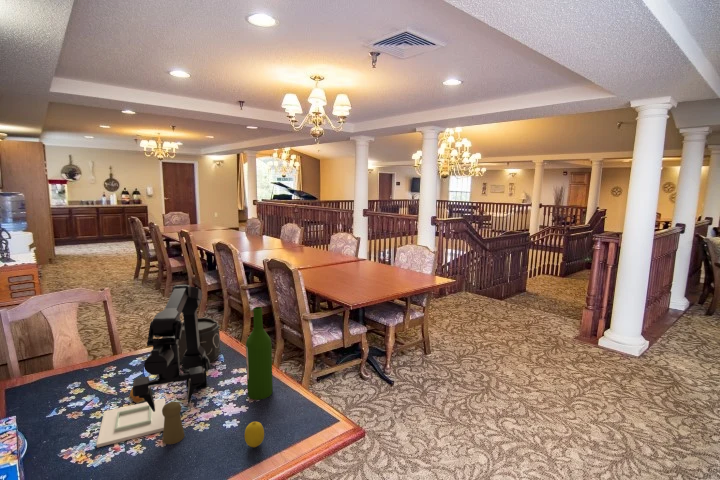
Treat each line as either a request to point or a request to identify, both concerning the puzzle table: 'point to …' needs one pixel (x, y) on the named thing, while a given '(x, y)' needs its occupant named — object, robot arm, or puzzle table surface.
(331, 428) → the puzzle table surface
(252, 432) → the lemon
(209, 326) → the dark grey round container
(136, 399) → the pastry
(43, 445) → the puzzle table surface
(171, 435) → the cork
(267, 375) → the wine bottle
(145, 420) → the cream flat square slab
